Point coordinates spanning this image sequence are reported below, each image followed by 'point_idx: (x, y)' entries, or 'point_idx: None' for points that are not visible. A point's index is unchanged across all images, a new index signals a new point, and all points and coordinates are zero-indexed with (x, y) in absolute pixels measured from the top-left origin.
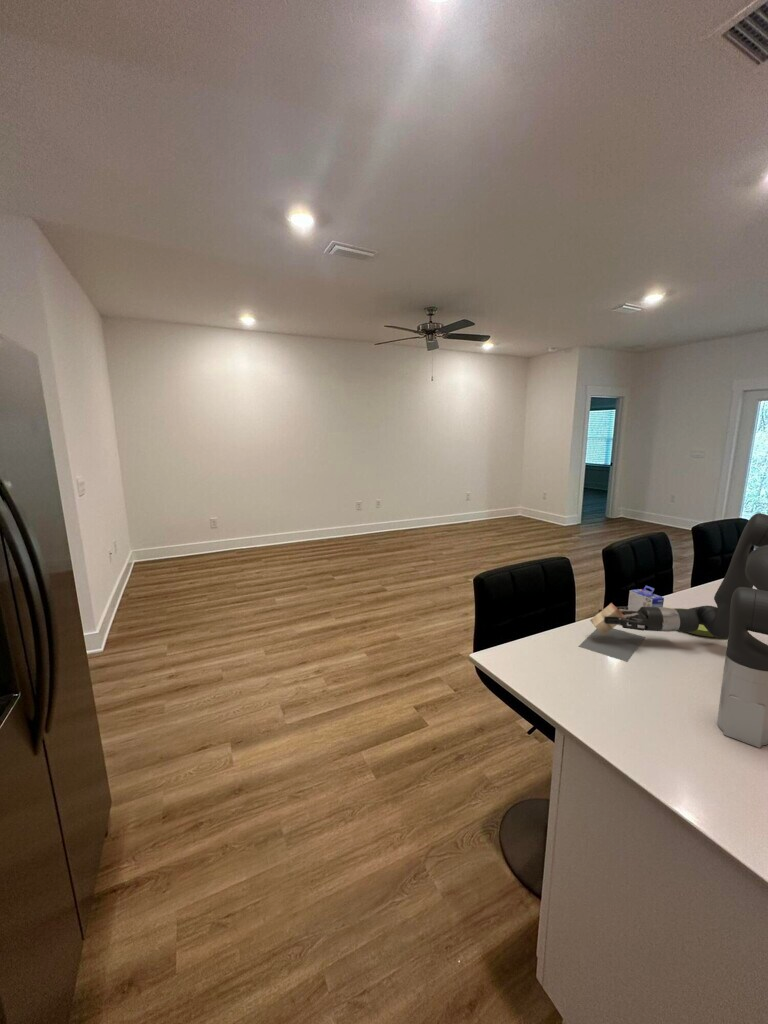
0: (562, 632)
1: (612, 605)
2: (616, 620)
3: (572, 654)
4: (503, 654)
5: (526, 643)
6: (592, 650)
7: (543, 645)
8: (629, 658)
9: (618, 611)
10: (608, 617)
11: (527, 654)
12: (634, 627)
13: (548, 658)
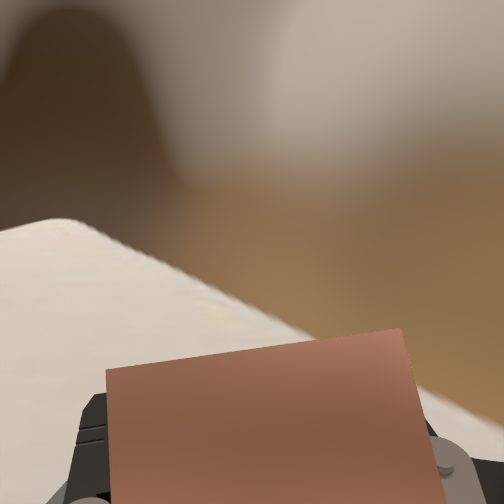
0: None
1: (307, 344)
2: (71, 496)
3: (48, 398)
4: (64, 246)
5: (153, 277)
6: (65, 488)
7: (143, 312)
8: None
9: (112, 427)
10: None
11: (61, 281)
12: None
13: (19, 325)
